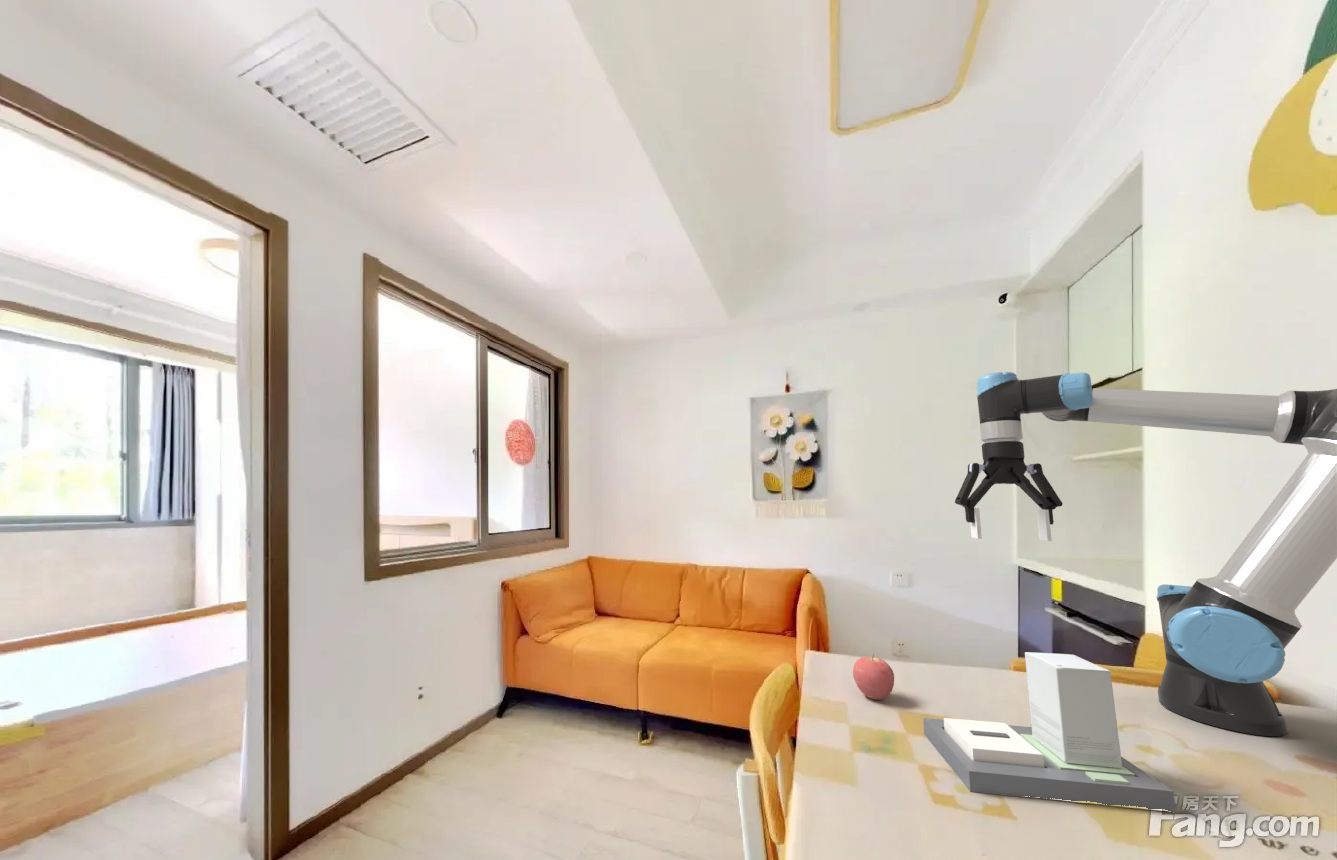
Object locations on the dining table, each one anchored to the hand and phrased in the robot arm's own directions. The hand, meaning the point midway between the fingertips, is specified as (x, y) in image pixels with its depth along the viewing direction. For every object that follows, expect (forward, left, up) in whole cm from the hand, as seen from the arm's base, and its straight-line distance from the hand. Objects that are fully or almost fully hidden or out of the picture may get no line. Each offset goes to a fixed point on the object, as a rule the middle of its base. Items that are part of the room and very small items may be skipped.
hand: (1010, 539), depth 98 cm
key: (+11, +30, -30) cm, 44 cm away
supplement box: (+10, +30, -28) cm, 42 cm away
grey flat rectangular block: (+16, +30, -31) cm, 46 cm away
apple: (+32, +9, -31) cm, 45 cm away
